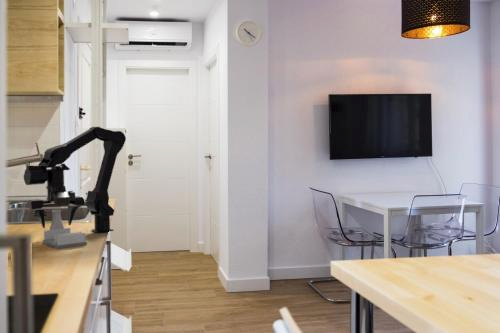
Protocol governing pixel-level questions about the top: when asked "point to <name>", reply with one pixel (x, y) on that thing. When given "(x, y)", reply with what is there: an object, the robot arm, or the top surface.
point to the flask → (56, 220)
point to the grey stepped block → (63, 238)
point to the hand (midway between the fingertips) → (56, 226)
